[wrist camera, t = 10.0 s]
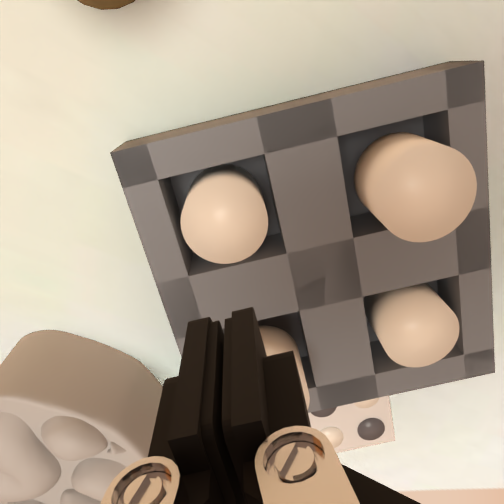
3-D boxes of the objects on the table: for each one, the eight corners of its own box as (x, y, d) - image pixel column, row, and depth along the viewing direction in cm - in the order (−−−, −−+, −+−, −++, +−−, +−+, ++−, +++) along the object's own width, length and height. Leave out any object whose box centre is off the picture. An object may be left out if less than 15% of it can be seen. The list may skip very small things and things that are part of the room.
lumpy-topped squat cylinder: (28, 314, 32) (-38, 395, 24) (196, 380, 35) (186, 473, 27) (-14, 419, 36) (-85, 522, 27) (143, 472, 38) (120, 580, 30)
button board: (449, 61, 27) (483, 60, 24) (466, 339, 35) (494, 372, 31) (125, 141, 28) (110, 152, 24) (210, 396, 36) (208, 434, 32)
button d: (290, 318, 29) (301, 359, 25) (304, 378, 31) (316, 425, 27) (217, 334, 29) (216, 377, 25) (235, 393, 31) (236, 442, 27)
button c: (253, 156, 28) (257, 171, 24) (269, 227, 30) (276, 253, 26) (177, 174, 28) (169, 192, 24) (198, 244, 30) (194, 272, 26)
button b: (427, 263, 31) (457, 293, 27) (433, 322, 33) (461, 358, 29) (359, 279, 32) (378, 310, 28) (368, 337, 33) (387, 374, 29)
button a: (434, 122, 25) (474, 133, 21) (440, 205, 27) (478, 229, 23) (348, 143, 25) (370, 158, 21) (360, 223, 27) (383, 252, 23)
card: (383, 368, 35) (385, 373, 35) (393, 436, 38) (395, 441, 37) (295, 388, 36) (295, 393, 35) (311, 454, 38) (312, 459, 38)
